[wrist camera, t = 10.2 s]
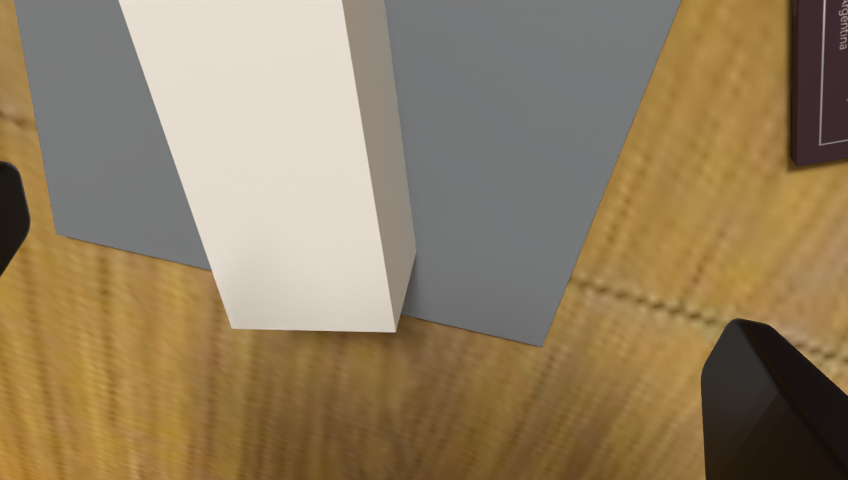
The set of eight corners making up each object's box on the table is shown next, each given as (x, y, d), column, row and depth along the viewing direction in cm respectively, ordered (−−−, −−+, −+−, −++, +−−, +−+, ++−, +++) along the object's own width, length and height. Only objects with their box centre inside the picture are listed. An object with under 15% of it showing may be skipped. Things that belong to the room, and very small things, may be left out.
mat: (704, -70, 16) (708, -66, 16) (541, 339, 24) (541, 347, 24) (-17, -232, 16) (-29, -232, 16) (62, 228, 25) (56, 234, 24)
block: (416, 251, 22) (396, 332, 19) (274, 250, 23) (232, 328, 20) (374, -74, 17) (335, -36, 14) (190, -58, 18) (111, -20, 14)
